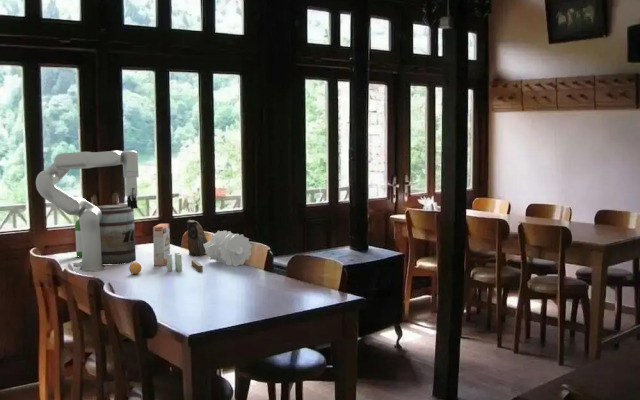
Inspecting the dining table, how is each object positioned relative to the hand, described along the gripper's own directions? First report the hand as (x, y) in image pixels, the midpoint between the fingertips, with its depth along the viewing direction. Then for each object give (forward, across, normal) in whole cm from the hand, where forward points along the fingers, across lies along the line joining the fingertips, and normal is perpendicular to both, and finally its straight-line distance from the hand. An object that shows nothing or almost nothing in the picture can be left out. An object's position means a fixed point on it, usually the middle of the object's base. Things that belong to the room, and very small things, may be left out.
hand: (132, 207), depth 357 cm
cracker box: (+32, -4, +16) cm, 36 cm away
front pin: (+32, +18, +14) cm, 39 cm away
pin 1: (+32, +15, +19) cm, 40 cm away
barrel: (+32, -24, -6) cm, 41 cm away
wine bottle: (+32, -46, -20) cm, 60 cm away
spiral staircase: (+32, +14, +47) cm, 58 cm away
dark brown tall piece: (+32, -21, +40) cm, 55 cm away
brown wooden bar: (+32, +18, +28) cm, 46 cm away
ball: (+29, +17, -2) cm, 33 cm away
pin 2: (+32, +20, +19) cm, 42 cm away
